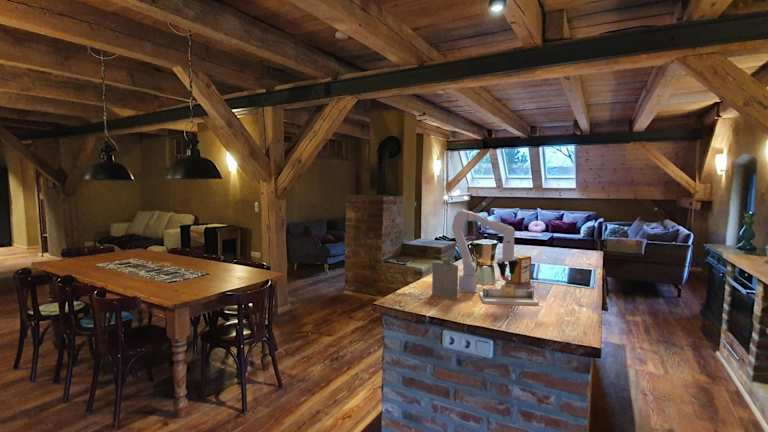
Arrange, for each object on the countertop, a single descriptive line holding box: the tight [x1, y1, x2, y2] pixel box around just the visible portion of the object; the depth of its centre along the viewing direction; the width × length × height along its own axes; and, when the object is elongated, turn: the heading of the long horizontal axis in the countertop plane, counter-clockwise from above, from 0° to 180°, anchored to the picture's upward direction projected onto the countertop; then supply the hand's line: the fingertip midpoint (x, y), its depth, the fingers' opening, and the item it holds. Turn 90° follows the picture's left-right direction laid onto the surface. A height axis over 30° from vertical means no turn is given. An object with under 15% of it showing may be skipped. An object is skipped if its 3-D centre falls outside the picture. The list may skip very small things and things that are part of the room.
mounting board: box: [478, 291, 540, 306], centre depth 193 cm, size 26×14×2 cm, turn 85°
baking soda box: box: [510, 254, 532, 286], centre depth 226 cm, size 10×6×16 cm
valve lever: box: [500, 274, 512, 284], centre depth 197 cm, size 12×3×2 cm, turn 175°
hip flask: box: [431, 257, 459, 302], centre depth 197 cm, size 16×4×20 cm, turn 40°
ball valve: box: [482, 282, 535, 299], centre depth 193 cm, size 24×6×7 cm, turn 85°
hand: (507, 275), depth 203 cm, fingers open, 7 cm apart
